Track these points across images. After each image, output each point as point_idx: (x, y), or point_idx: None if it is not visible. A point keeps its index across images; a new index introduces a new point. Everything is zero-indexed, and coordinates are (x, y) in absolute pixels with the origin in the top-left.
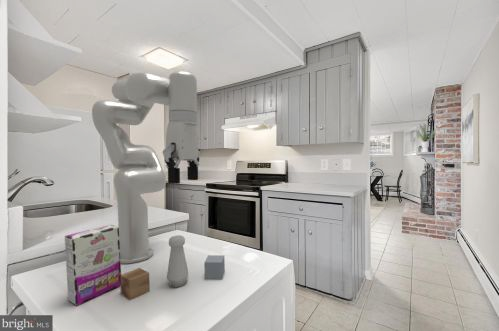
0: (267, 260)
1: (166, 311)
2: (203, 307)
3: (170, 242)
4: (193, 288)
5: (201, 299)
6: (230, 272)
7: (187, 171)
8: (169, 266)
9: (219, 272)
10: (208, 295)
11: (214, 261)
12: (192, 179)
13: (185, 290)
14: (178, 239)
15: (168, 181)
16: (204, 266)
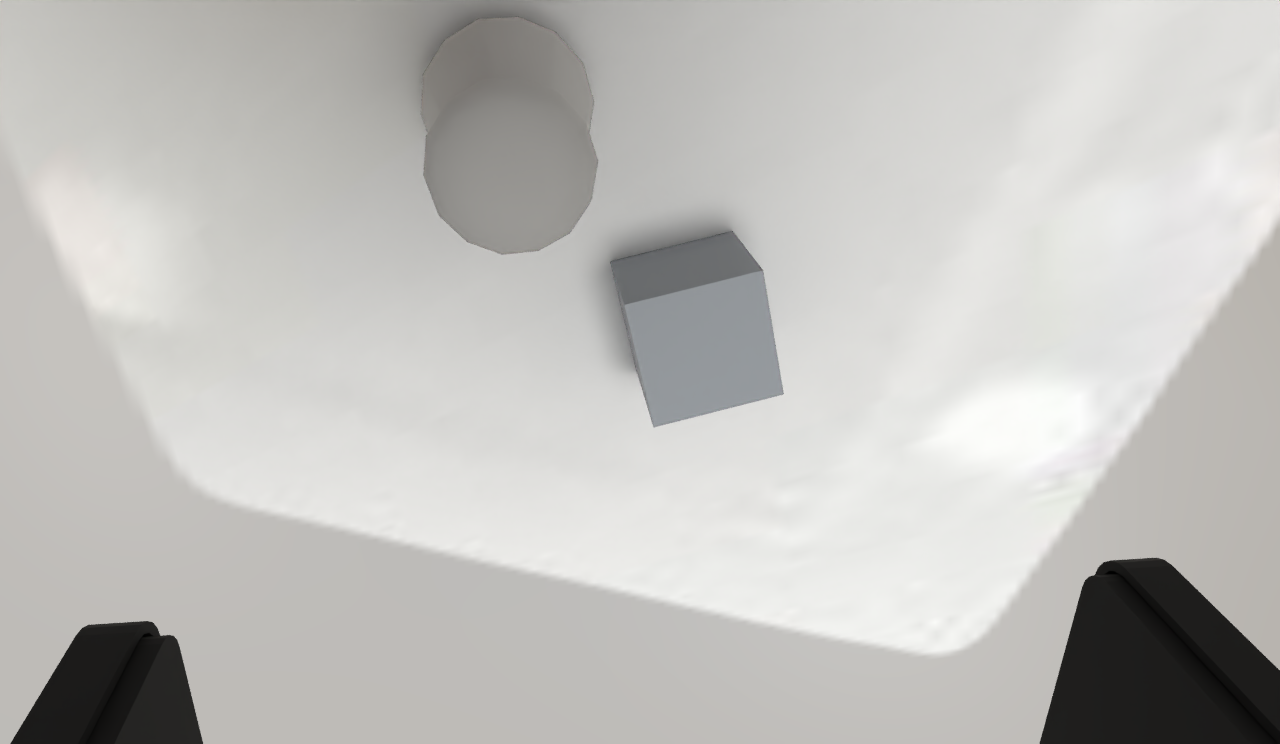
0: (955, 548)
1: (192, 221)
2: (313, 401)
3: (428, 142)
4: None
5: (379, 354)
6: None
7: (1277, 736)
8: (440, 85)
9: (639, 378)
10: (432, 373)
11: (657, 371)
12: (1062, 685)
13: None
14: (464, 228)
15: (70, 660)
16: (621, 293)
